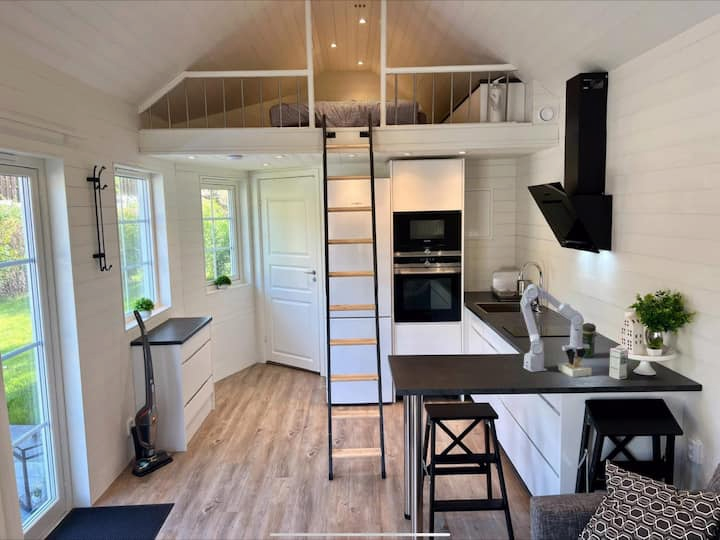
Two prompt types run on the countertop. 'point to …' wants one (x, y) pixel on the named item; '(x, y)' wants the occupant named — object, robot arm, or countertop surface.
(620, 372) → the syrup box
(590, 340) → the coffee jar
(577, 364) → the beech block
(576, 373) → the white tub
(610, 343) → the countertop surface
